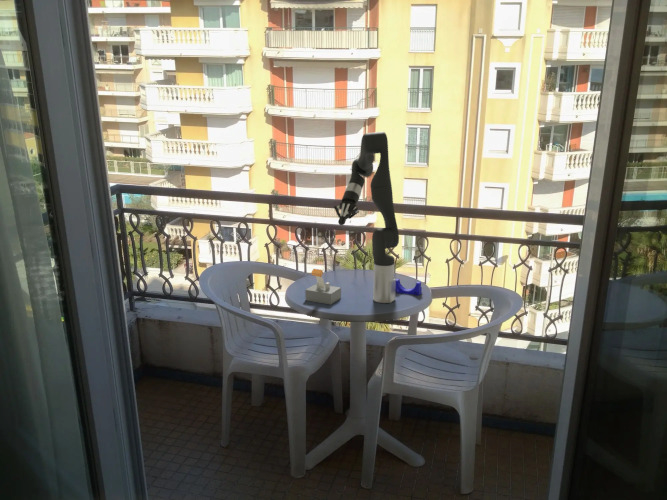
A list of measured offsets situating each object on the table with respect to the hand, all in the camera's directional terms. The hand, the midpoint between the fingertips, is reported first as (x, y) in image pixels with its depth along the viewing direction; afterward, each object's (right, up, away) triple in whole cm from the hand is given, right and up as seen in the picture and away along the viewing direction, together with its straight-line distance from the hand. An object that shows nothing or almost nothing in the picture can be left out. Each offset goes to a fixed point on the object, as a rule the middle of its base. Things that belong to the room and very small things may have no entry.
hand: (340, 224), depth 276 cm
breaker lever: (-8, -29, -7) cm, 31 cm away
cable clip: (+32, -32, +4) cm, 45 cm away
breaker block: (-8, -34, -5) cm, 36 cm away
